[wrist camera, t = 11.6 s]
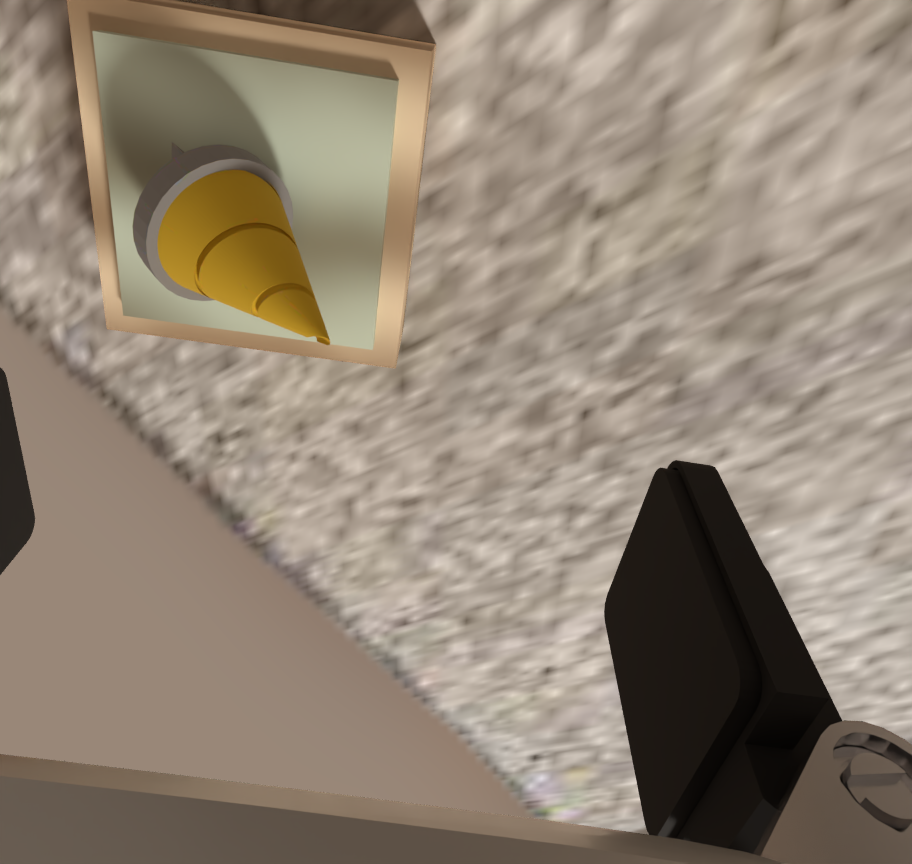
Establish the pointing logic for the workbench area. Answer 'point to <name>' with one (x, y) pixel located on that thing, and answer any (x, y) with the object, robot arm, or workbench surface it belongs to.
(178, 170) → the drill bit
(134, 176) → the base block
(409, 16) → the workbench surface
